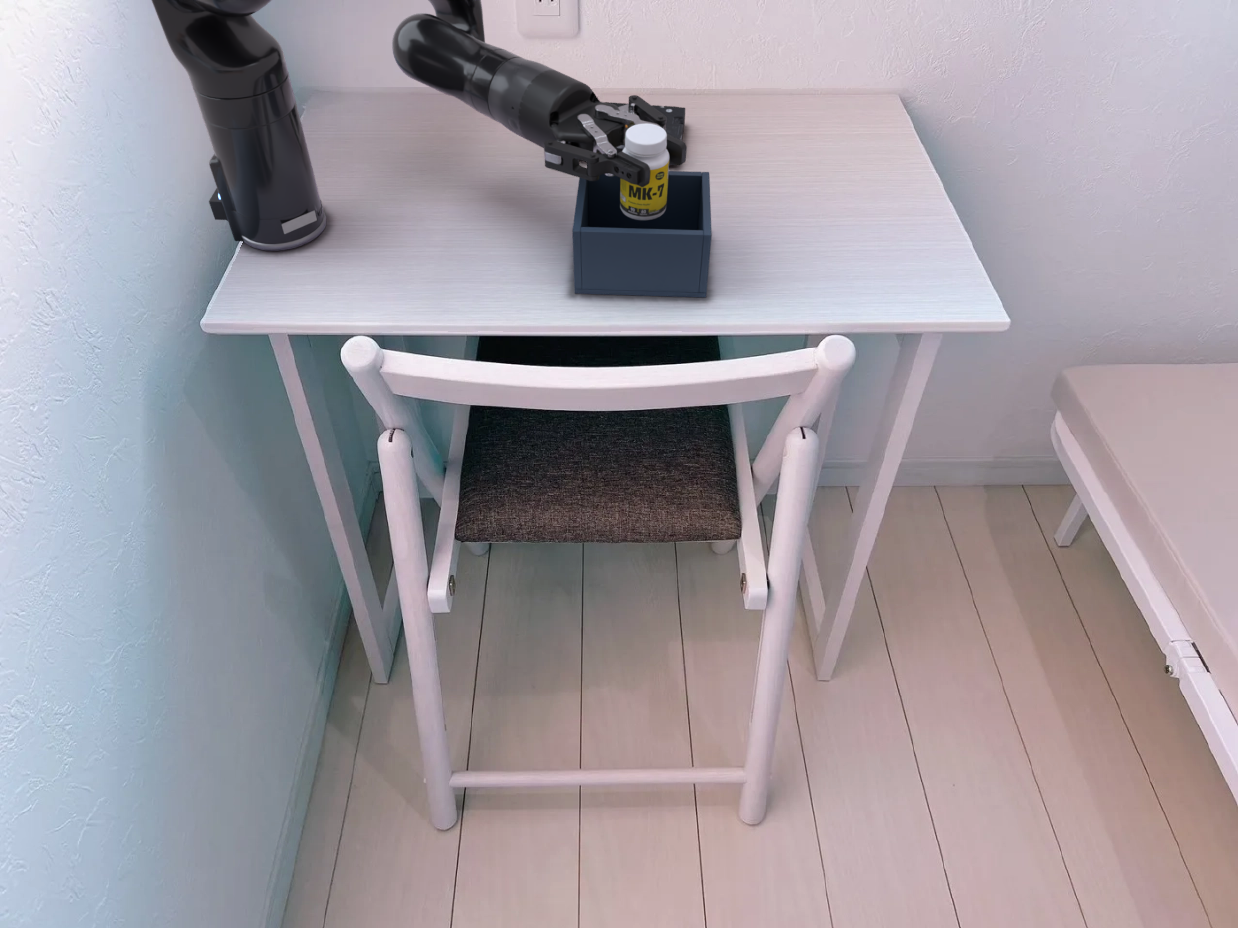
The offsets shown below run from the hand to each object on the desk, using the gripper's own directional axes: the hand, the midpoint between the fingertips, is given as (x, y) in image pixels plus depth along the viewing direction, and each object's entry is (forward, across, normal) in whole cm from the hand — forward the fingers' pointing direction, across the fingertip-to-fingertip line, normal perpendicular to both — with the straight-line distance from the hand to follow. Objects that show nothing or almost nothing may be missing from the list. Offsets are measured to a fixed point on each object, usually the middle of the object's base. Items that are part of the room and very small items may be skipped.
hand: (665, 165), depth 95 cm
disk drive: (-21, +17, +13) cm, 30 cm away
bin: (-2, 0, +12) cm, 13 cm away
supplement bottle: (-3, 0, +6) cm, 7 cm away
